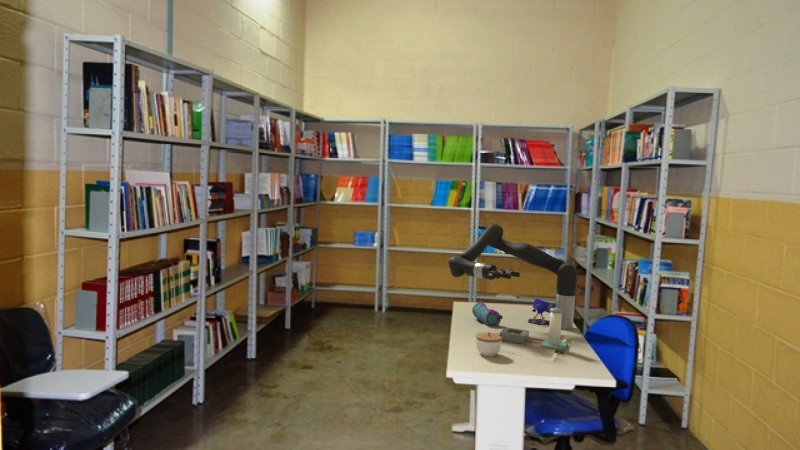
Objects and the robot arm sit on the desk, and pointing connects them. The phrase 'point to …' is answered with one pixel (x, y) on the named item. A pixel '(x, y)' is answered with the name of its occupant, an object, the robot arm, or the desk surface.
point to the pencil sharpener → (541, 311)
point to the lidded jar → (488, 343)
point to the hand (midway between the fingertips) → (515, 275)
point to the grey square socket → (514, 335)
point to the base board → (538, 344)
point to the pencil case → (486, 314)
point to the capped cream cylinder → (555, 326)
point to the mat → (561, 346)
